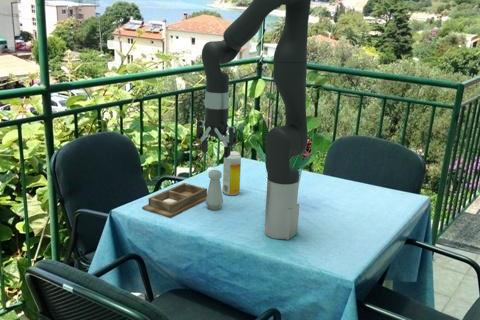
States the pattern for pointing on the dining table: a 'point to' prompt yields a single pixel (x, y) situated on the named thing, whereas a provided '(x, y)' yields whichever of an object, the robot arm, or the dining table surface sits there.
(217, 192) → the salt shaker
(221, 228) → the dining table surface
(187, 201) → the slot caddy
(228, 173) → the white yellow canister
